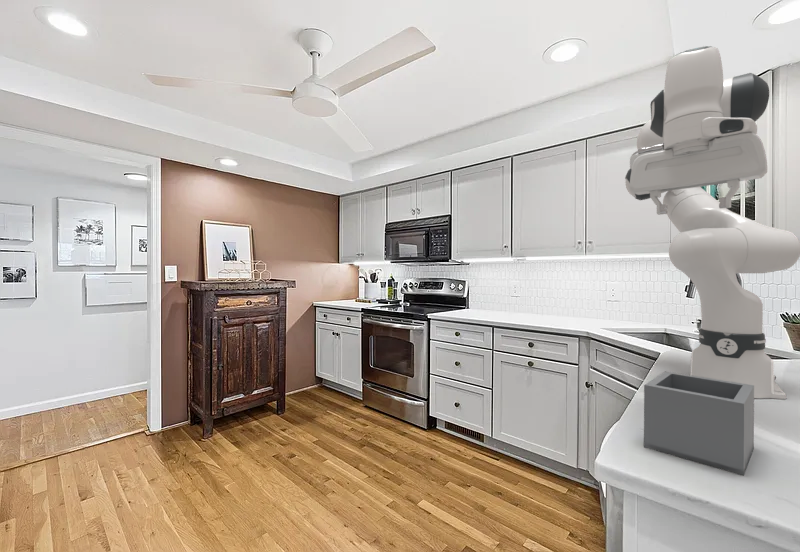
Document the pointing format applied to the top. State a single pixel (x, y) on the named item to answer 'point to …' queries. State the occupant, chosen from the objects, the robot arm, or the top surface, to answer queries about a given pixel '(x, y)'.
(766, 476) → the top surface
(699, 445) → the bin
